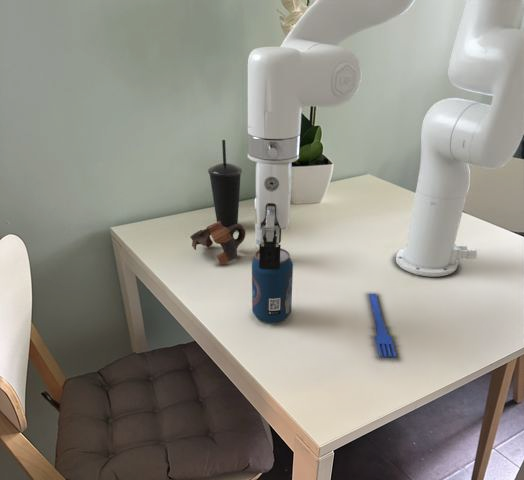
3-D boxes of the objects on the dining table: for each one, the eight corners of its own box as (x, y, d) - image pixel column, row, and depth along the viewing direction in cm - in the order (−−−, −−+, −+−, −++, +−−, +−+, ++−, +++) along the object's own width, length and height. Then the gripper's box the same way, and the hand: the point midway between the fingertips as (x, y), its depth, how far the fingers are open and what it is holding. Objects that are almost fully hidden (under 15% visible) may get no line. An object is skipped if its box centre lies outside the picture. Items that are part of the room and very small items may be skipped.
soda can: (250, 306, 93) (249, 246, 86) (287, 304, 94) (290, 244, 86) (254, 327, 88) (253, 265, 80) (293, 325, 88) (296, 263, 81)
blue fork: (365, 295, 96) (365, 293, 96) (379, 295, 96) (379, 293, 96) (379, 357, 81) (380, 355, 81) (396, 357, 81) (396, 355, 81)
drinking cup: (225, 218, 127) (221, 133, 115) (249, 225, 123) (248, 139, 111) (205, 228, 122) (198, 141, 110) (229, 236, 118) (226, 146, 106)
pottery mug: (210, 272, 105) (192, 236, 102) (199, 272, 113) (182, 239, 111) (259, 246, 107) (241, 210, 105) (244, 248, 116) (228, 215, 114)
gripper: (300, 165, 66) (293, 281, 76) (298, 132, 80) (293, 234, 90) (243, 163, 66) (243, 279, 76) (251, 131, 80) (251, 233, 90)
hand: (270, 254), depth 83 cm, fingers open, 9 cm apart
